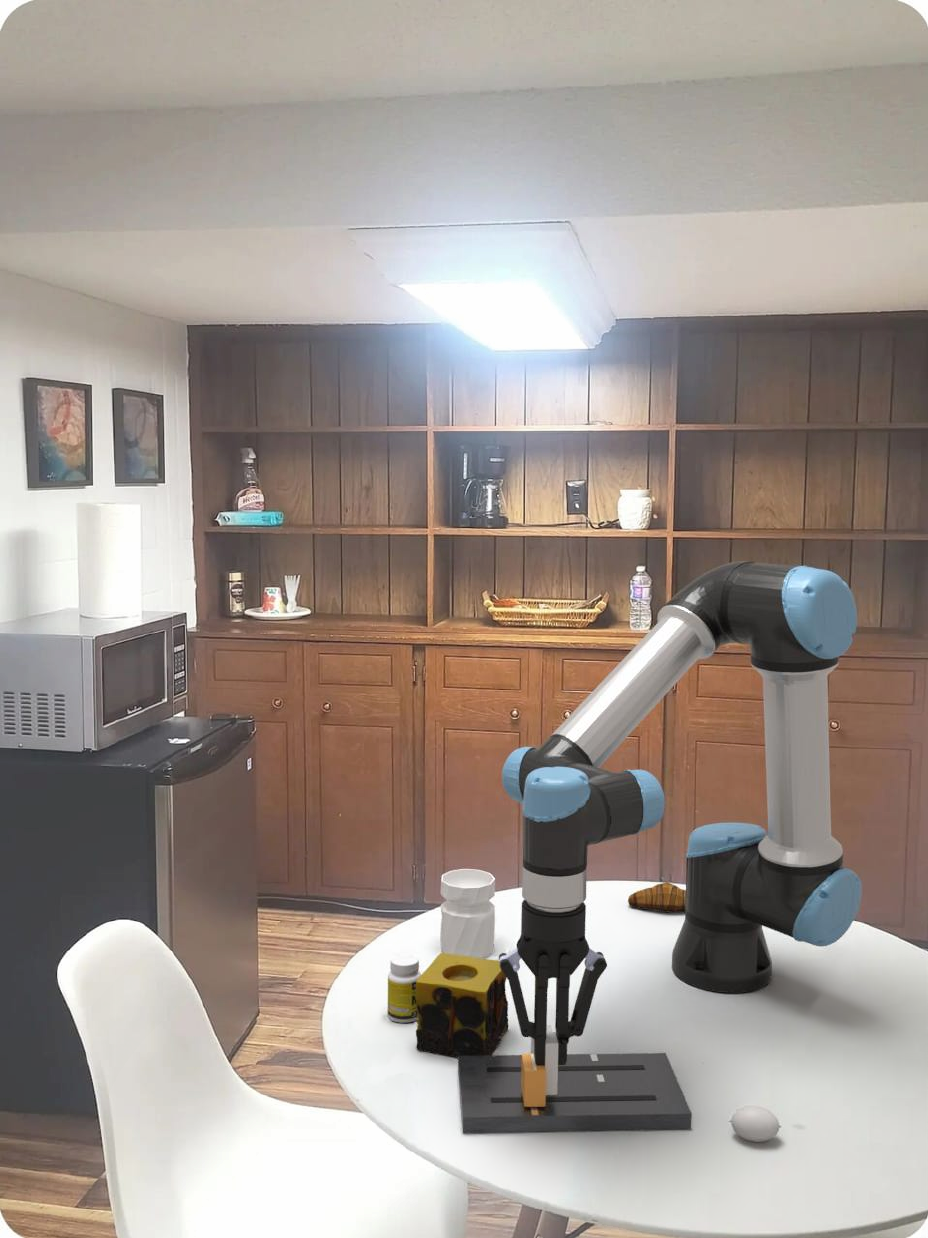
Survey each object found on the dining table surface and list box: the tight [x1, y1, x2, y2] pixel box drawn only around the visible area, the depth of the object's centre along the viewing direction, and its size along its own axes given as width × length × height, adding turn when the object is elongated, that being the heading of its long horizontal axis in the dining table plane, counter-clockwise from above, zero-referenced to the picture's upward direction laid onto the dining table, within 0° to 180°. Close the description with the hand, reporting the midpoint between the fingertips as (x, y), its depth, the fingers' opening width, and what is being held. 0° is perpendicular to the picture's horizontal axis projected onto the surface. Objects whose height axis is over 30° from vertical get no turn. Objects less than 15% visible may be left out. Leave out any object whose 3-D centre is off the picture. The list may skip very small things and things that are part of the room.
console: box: [457, 1052, 693, 1134], centre depth 142 cm, size 27×14×2 cm, turn 93°
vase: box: [439, 868, 496, 959], centre depth 184 cm, size 9×9×12 cm
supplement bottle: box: [387, 953, 422, 1024], centre depth 162 cm, size 5×5×8 cm
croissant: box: [627, 881, 686, 913], centre depth 202 cm, size 14×7×5 cm, turn 83°
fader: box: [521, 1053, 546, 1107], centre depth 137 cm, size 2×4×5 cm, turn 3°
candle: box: [415, 952, 510, 1058], centre depth 155 cm, size 10×10×10 cm
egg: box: [728, 1105, 782, 1143], centre depth 134 cm, size 4×6×4 cm, turn 80°
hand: (549, 1088), depth 138 cm, fingers closed
